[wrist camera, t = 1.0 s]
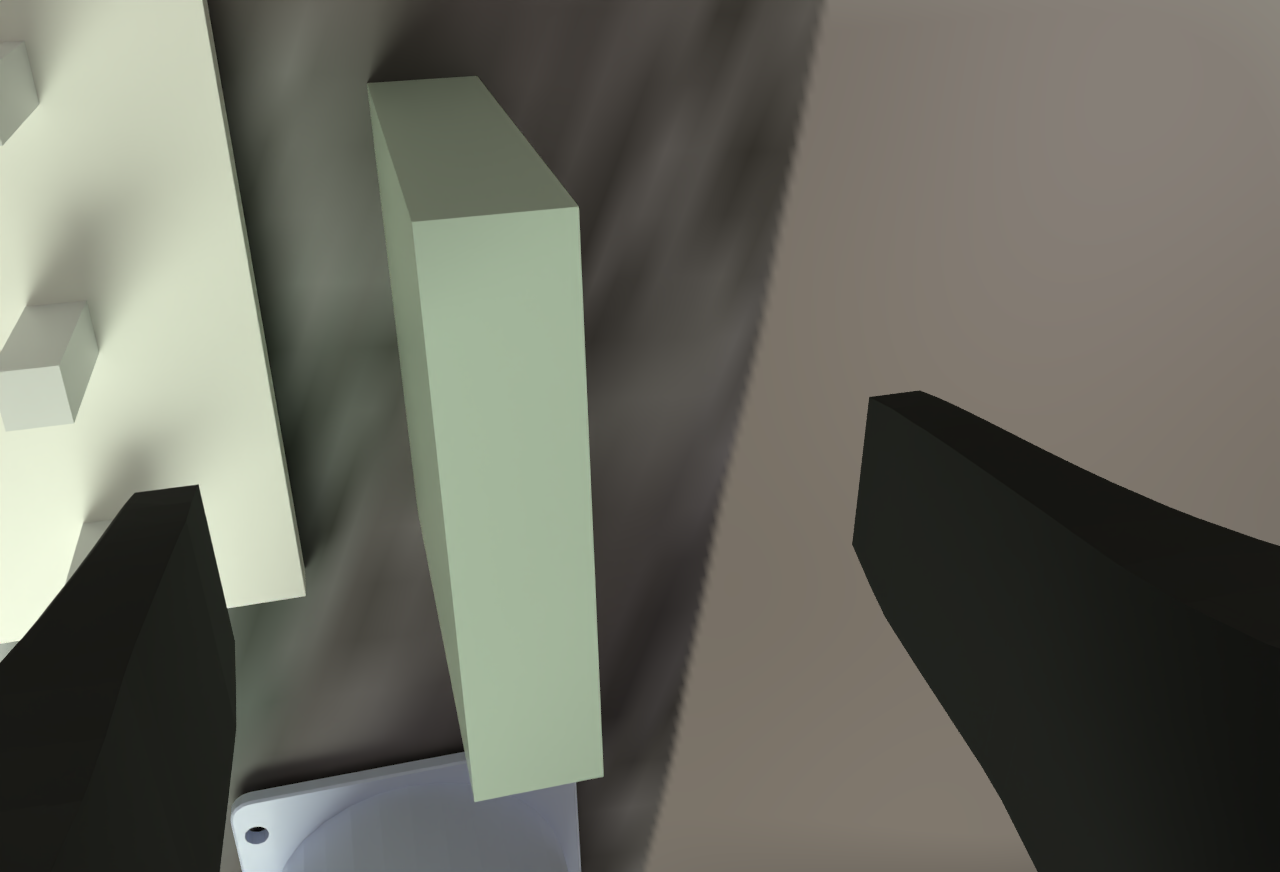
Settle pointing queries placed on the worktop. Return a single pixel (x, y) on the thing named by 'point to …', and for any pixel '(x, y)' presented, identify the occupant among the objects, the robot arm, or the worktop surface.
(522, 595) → the pale green tall block
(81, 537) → the rack
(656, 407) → the worktop surface
